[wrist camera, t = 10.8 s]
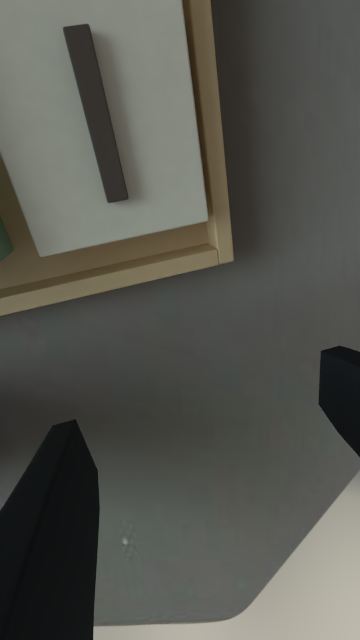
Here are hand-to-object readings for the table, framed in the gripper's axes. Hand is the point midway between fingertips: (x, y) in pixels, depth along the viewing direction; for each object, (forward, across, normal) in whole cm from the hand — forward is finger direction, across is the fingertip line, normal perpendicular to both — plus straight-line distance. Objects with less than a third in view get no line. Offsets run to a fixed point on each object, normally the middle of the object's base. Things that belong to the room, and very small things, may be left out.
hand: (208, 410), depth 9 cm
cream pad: (+9, +1, -8) cm, 12 cm away
